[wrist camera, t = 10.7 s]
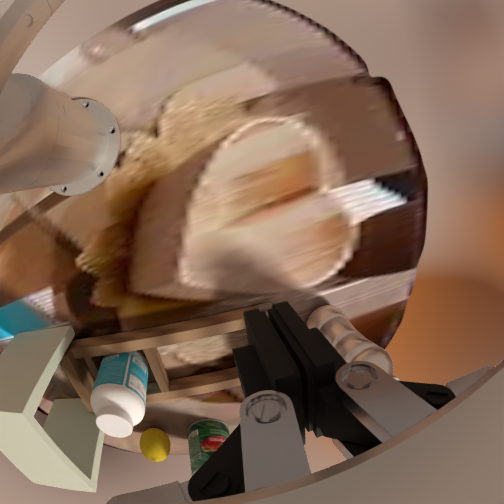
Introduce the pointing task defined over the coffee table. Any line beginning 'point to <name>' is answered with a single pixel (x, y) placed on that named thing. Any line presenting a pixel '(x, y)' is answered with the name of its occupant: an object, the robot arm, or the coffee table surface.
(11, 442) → the tunnel
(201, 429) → the canned tomato
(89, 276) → the coffee table surface
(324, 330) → the plastic bottle
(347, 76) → the coffee table surface
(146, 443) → the lemon
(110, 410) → the pill bottle
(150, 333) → the wooden compartment tray
